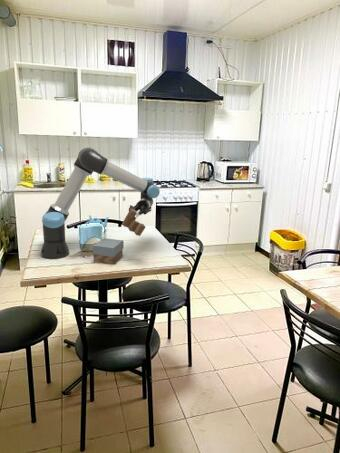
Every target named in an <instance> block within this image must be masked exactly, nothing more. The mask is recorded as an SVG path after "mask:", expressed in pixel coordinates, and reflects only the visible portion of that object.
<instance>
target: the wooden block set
mask: <svg viewBox="0 0 340 453" xmlns="http://www.w3.org/2000/svg"><path fill="white" fill-rule="evenodd" d="M136 212H137V211H136V210H134V209H130V211H129V210H128V212H127V214H126V215H125V218H124V220H123V221H122V223H121V225H122V227H125V228H127V229H128V230H129V232H133V233H134V235H135V236H138V237H141V235H142V233H143V232H144V231H145V229H146V225H145V224H144V223H141V222H139V221H137V218H138V217H136ZM131 216H132V217H131Z"/></svg>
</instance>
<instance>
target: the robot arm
mask: <svg viewBox="0 0 340 453" xmlns="http://www.w3.org/2000/svg"><path fill="white" fill-rule="evenodd" d="M73 167H74V169H73V170H72V172H71V173H70V176H69V178H68V179H67V180H66V182H65V184H64V187H63V188H62V190H61V192H60V193H59V195H58V197H57V199H56V200H55V202H54V203H52V204H50V206H49V208H48V210H47V211H45V213H44V214H43V215H42V217H41V218H42V220H41V223H42V234H43V244H42V248H41V252H40V254H41V257H42V258H44V259H51V260H52V259H53V260H57V259H62V258H65V257H67V256H69V254H70V248H69V246H68V244H67V241H66V227H65V224H66V223H65V222H66V220H67V218H68V217H69V215H70V212H69V210H70V209H71V206H72V205H73V204H74V201H75V199H76V197H77V196H78V194H79V192H80V190H81V188H82V187H83V185H84V183H85V181H86V180H87V178H88V176H91V175H92V174H93V173H96V174H99V175H104V176H106V177H108V178H111V179H113V180H115V181H117V182H118V183H121V184H123V185H125V186H127V187H129V188H131V189H133V190H135V191H137V192H139V193H140V200H139V201H138V202H137V203H136V204H135V205H129V208H128V212H129V211H130V209H134V210H136V211H137V212H136V215H135V217H137V218H139V216H142V215H147V214H148V213H150V212H152V206H153V204H154V199H156V198H159V195H160V191H161V190H160V188H159V186H157V185H156V184H154V179H153V178H150V177H139V176H138V175H135V174H133V173H132V172H130V171H127V170H126V169H124V168H122V167H120V166H118V165H116V164H115V163H112V162H111V161H110V160H109V158H106V157H104V156H103V155H101V154H100V153H99V152H98V151H97V150H95V149H94V148H91V147H83V148H82V149H81V150H80V151H79V152H78V154H77V158H76V160H75V161H74V163H73ZM131 217H132V216H131Z"/></svg>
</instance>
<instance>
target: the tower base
mask: <svg viewBox="0 0 340 453" xmlns="http://www.w3.org/2000/svg"><path fill="white" fill-rule="evenodd" d="M123 251H124V248H123V249H122V250H121V251H120V252H119V253H118V254H116V255H115V256H114V257H110V256H103V255H95V254H93V263H97V264H107V265H117V263H118V261H120V259H121V258H122V257H123V256H124V255H123Z"/></svg>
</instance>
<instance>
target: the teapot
mask: <svg viewBox="0 0 340 453" xmlns="http://www.w3.org/2000/svg"><path fill="white" fill-rule="evenodd" d="M88 216H89V219H88V220H89V221H86V222H85V223H84V225H85V224H86V225H87V224H89V223H100V224H102V225H103V227H104V230H105V231H106V228H107V226H108V225H107V224H108V219H109V216H106V218H105V219H104V222H103V220H102V219H99V218H98V217H93V218H92V215H88Z"/></svg>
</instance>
